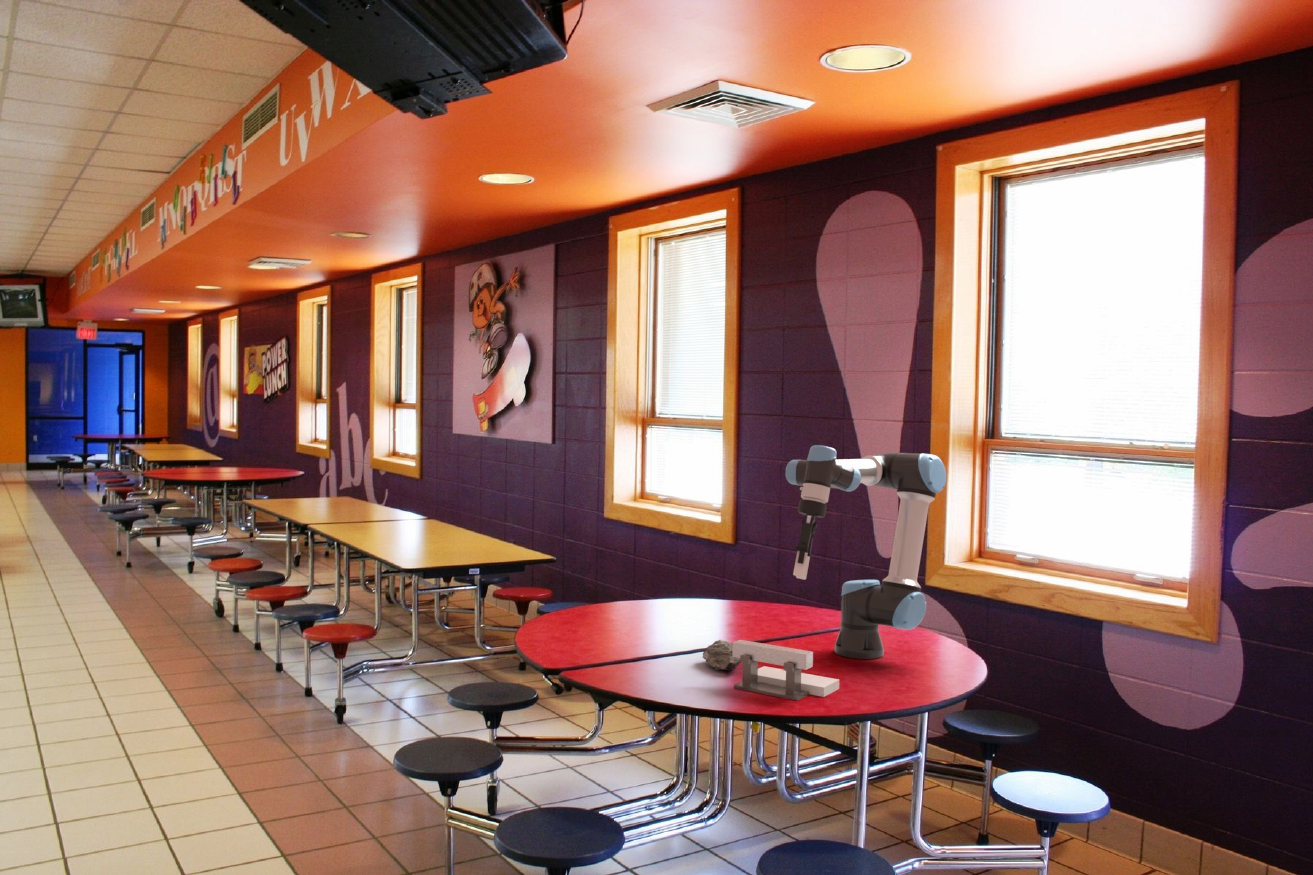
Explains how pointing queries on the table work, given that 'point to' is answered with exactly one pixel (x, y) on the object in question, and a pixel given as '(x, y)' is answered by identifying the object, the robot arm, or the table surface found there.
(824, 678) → the board
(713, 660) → the rock
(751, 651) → the rail
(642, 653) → the table surface
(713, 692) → the table surface
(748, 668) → the rack
